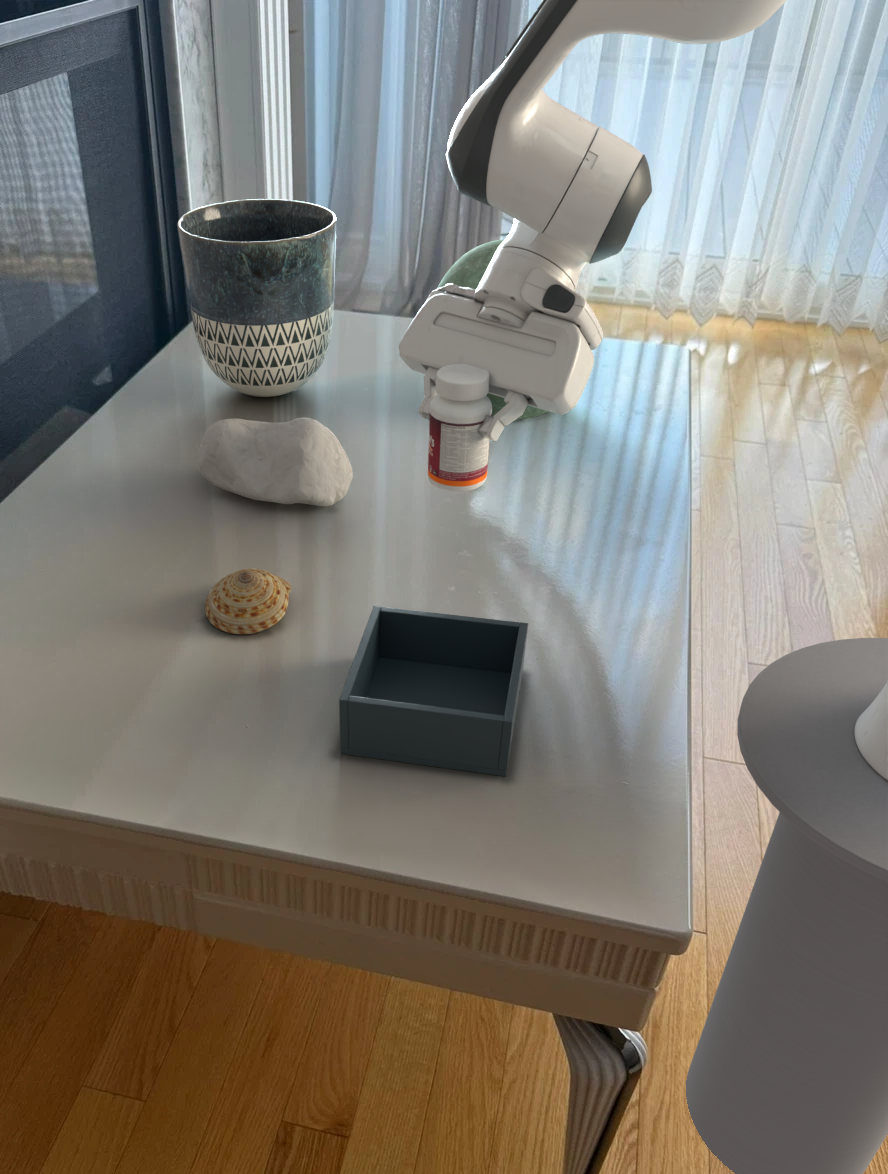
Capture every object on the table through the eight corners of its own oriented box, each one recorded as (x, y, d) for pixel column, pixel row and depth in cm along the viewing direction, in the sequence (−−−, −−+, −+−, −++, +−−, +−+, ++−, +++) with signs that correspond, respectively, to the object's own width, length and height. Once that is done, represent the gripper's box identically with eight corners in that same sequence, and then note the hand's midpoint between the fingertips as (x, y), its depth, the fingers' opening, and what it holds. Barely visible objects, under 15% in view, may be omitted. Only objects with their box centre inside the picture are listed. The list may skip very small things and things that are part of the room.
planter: (245, 432, 132) (231, 252, 118) (169, 384, 144) (148, 216, 130) (368, 393, 140) (368, 222, 127) (287, 351, 152) (278, 191, 139)
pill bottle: (429, 465, 111) (432, 360, 104) (488, 467, 110) (495, 361, 103) (425, 492, 106) (428, 384, 99) (486, 495, 106) (493, 386, 98)
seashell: (305, 569, 102) (277, 580, 95) (299, 625, 104) (272, 641, 96) (227, 556, 104) (194, 567, 97) (223, 612, 106) (190, 626, 98)
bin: (522, 675, 92) (528, 622, 89) (506, 776, 82) (512, 722, 79) (373, 657, 95) (373, 605, 91) (340, 753, 85) (338, 699, 81)
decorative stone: (367, 457, 120) (342, 406, 110) (344, 535, 117) (317, 490, 108) (232, 445, 125) (198, 396, 116) (208, 519, 123) (171, 475, 114)
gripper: (424, 263, 106) (362, 386, 107) (600, 304, 96) (530, 441, 96) (449, 297, 112) (390, 414, 112) (618, 339, 101) (552, 468, 102)
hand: (456, 427), depth 104 cm, fingers closed on pill bottle, 6 cm apart
